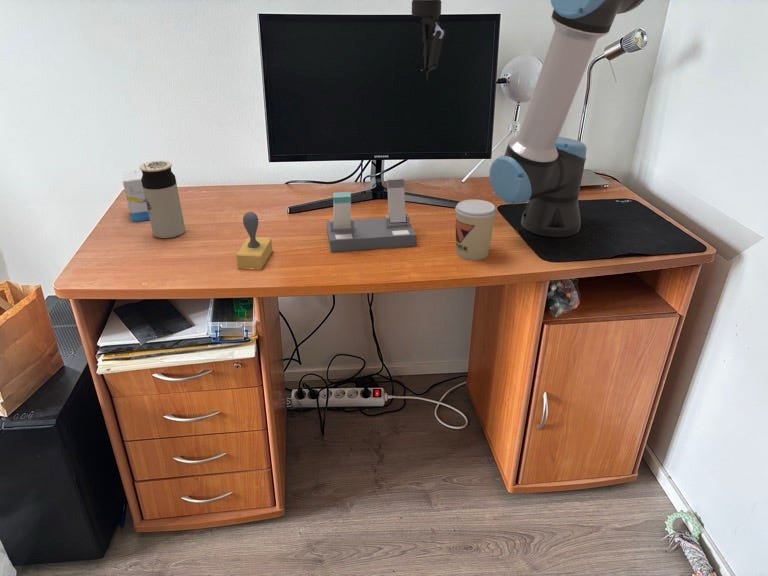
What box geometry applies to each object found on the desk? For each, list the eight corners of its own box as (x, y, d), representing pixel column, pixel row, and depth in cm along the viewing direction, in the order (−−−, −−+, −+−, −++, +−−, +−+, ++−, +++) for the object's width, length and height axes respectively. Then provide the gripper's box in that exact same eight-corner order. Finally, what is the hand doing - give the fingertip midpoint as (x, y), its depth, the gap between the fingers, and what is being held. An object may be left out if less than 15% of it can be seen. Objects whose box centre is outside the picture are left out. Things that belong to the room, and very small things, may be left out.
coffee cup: (446, 248, 138) (448, 201, 132) (479, 242, 141) (483, 196, 135) (463, 264, 130) (467, 216, 124) (499, 258, 133) (504, 210, 127)
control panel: (326, 232, 146) (325, 211, 144) (406, 226, 149) (406, 206, 146) (330, 251, 136) (329, 230, 133) (415, 245, 139) (416, 224, 136)
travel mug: (185, 225, 150) (172, 159, 142) (185, 236, 144) (172, 168, 135) (153, 228, 148) (139, 161, 139) (152, 240, 142) (137, 171, 133)
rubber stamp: (249, 250, 137) (243, 203, 131) (272, 250, 137) (267, 204, 131) (237, 269, 129) (230, 220, 123) (262, 269, 128) (256, 221, 122)
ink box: (164, 218, 155) (156, 177, 149) (131, 222, 152) (121, 181, 146) (163, 207, 162) (155, 168, 156) (131, 211, 159) (122, 171, 153)
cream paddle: (333, 224, 140) (333, 192, 132) (349, 223, 141) (350, 191, 132) (334, 228, 139) (333, 197, 131) (350, 227, 140) (351, 196, 131)
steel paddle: (389, 223, 142) (386, 180, 140) (404, 222, 143) (402, 179, 141) (390, 224, 140) (387, 180, 139) (405, 222, 141) (403, 179, 139)
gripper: (455, -1, 140) (450, 97, 152) (420, -3, 149) (417, 90, 161) (433, 0, 136) (429, 100, 148) (398, -2, 145) (397, 93, 156)
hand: (423, 95), depth 154 cm, fingers closed
